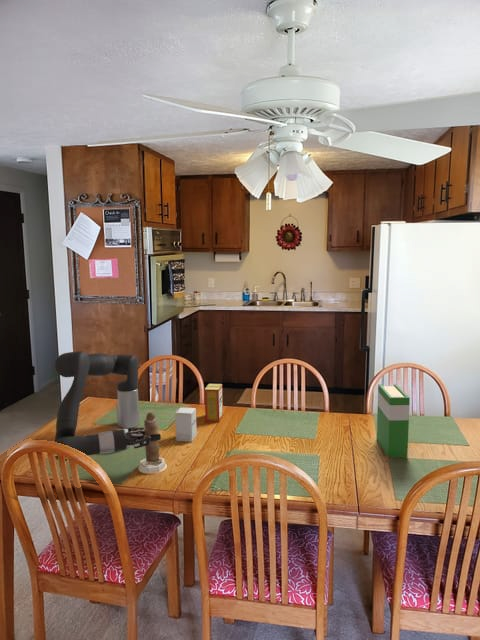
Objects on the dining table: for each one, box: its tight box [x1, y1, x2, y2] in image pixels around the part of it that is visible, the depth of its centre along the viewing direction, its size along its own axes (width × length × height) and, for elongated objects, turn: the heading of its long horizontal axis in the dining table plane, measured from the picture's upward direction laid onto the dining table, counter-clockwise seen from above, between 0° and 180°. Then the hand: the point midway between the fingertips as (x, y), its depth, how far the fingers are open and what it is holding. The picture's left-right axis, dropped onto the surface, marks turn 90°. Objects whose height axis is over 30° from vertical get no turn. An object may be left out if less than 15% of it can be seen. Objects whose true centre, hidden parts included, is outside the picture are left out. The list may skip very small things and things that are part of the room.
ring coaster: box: [138, 456, 168, 475], centre depth 185 cm, size 10×10×3 cm
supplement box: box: [174, 407, 198, 443], centre depth 214 cm, size 7×7×13 cm
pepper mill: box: [144, 412, 160, 462], centre depth 184 cm, size 5×5×18 cm
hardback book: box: [376, 383, 411, 458], centre depth 199 cm, size 18×7×24 cm, turn 179°
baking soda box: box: [204, 383, 224, 423], centre depth 237 cm, size 10×6×16 cm
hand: (158, 433), depth 185 cm, fingers closed on pepper mill, 4 cm apart
